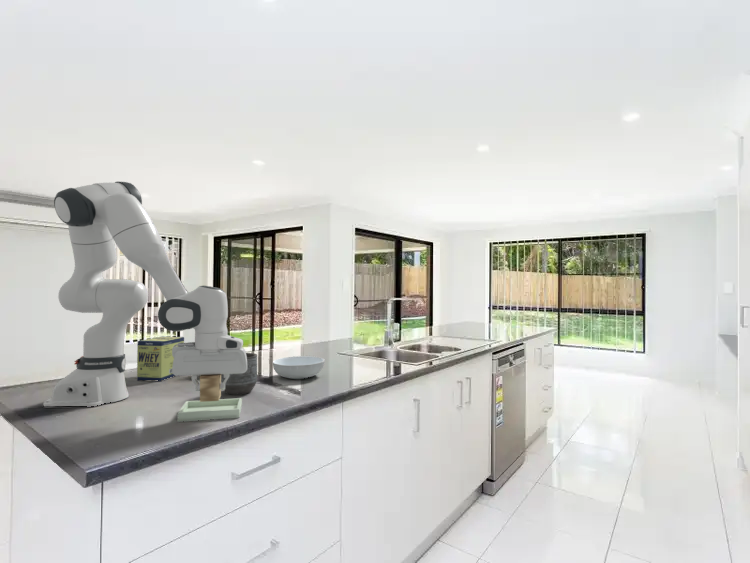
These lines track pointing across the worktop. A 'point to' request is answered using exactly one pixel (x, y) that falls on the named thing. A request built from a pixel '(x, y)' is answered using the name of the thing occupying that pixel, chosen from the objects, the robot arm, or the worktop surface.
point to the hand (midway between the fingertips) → (210, 389)
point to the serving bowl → (298, 366)
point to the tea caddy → (210, 387)
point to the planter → (242, 378)
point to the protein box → (156, 358)
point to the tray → (210, 410)
